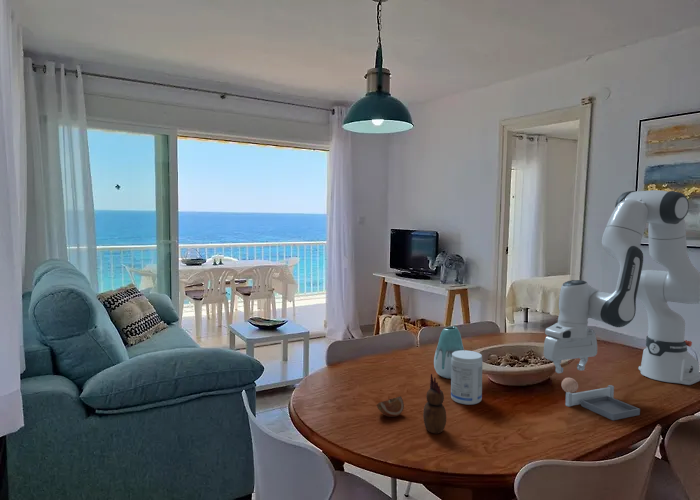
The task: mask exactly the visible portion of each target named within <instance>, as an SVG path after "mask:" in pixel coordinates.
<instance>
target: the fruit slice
mask: <svg viewBox="0 0 700 500" xmlns="http://www.w3.org/2000/svg"><path fill="white" fill-rule="evenodd" d="M376 407H377V409H378V410H379V412H380V413H381V414H383V415H384V416H386V417H389V418H395V417H399V416H400V415H401V414H402V413H403V411H404V410H405V409H404V408H405V404H404V400H403V398H402V396H401V395H400V396H397V397H393V398H389V399H388V400H384V401H381V402H378V403H377V404H376Z"/></svg>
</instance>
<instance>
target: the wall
mask: <svg viewBox="0 0 700 500" xmlns="http://www.w3.org/2000/svg"><path fill="white" fill-rule="evenodd" d="M614 394H615V386H614V385H612V384H609V385H607V386H606V387H601V388H597V389H595V388H594V389H591V390H590V389H589V390H584V391H578V392H577V391H576V392H574V393H570V392H565V406H566V407H573V406H578V405H581V400H585V399H591V398H596V397H602V396H609V397H612V398H614ZM614 399H615V398H614Z"/></svg>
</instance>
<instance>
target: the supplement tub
mask: <svg viewBox="0 0 700 500" xmlns="http://www.w3.org/2000/svg"><path fill="white" fill-rule="evenodd" d="M450 397H451V399H452V401H454V402H455V403H458V404H461V405H465V406H466V405H467V406H468V405H469V406H470V405H471V406H472V405H477V404H479V403H480V402H482V399H483V355H482V354H481V353H480V352H477V351H473V350H466V349H464V350H460V351H455V352H453V353H452V359H451V379H450Z"/></svg>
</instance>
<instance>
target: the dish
mask: <svg viewBox="0 0 700 500" xmlns="http://www.w3.org/2000/svg"><path fill="white" fill-rule="evenodd" d="M580 406H581V407H583V408H584V409H587V410H588V411H591V412H593V413H595V414H598V415H600V416H602V417H604V418H607V419H609V420H611V421H618V420H621V419H622V420H623V419H627V418H631V417H635V416H640V415H641V408H638V407H636V406H634V405H631V404H629V403H626V402H624V401H621V400H619V399H617V398H612V397H609V396H602V397H596V398H591V399H585V400H581V404H580Z"/></svg>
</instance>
